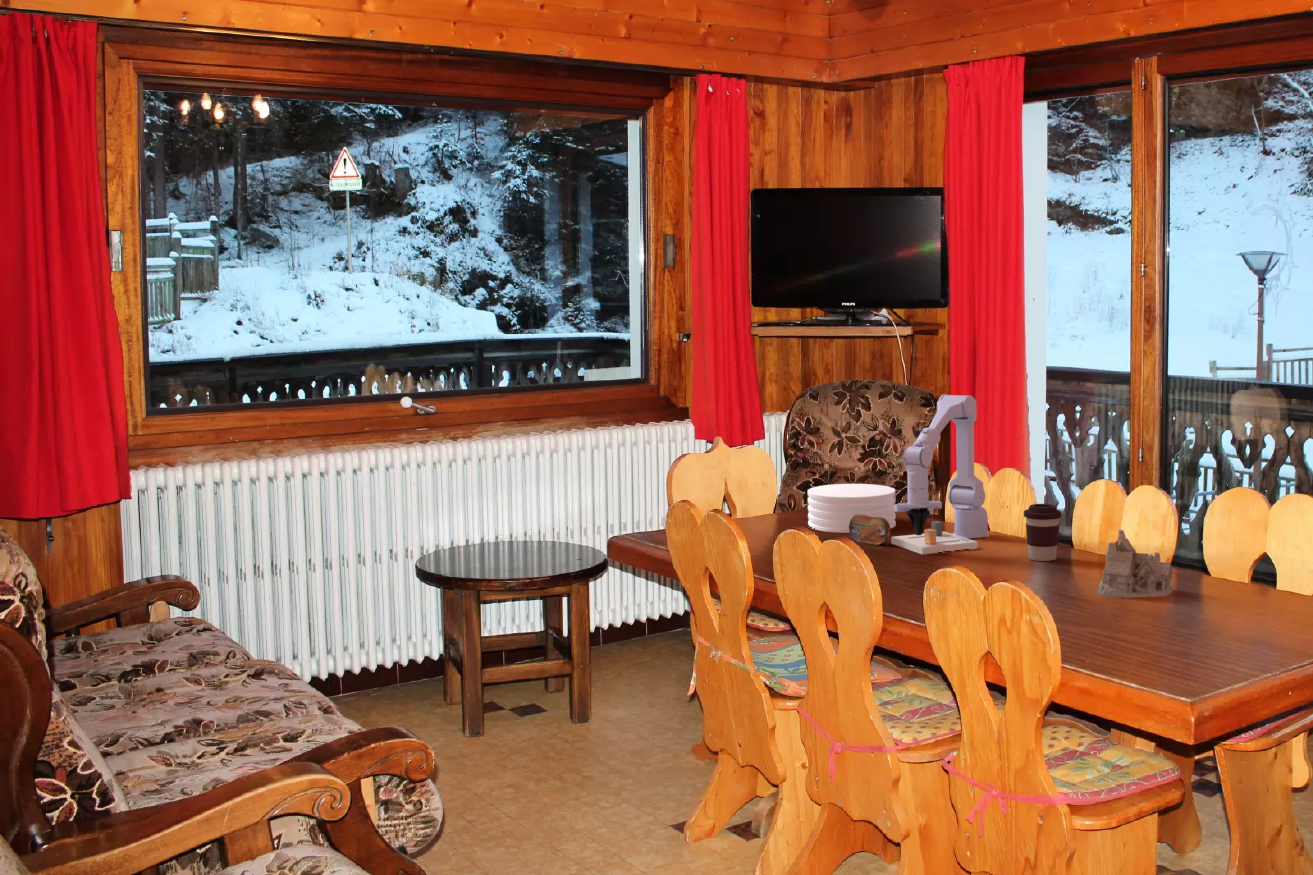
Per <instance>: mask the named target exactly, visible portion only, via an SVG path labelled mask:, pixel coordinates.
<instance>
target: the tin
mask: <svg viewBox="0 0 1313 875" xmlns="http://www.w3.org/2000/svg"><path fill="white" fill-rule="evenodd" d="M849 532H850V533H849V534H850V537H851V538H852V540H854V541H855V542H856V543H862V544H867V545H868V544H869V545H873V546H880V545H884V544H886V543H887V542H888V541H889V540H890V538H891V529H890V525H889V523H888V521H887V520H886V519H885V518H883V517H877V516H869V515H855V516H853V517H852V519H851V520H850V523H849Z"/></svg>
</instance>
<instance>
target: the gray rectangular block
mask: <svg viewBox="0 0 1313 875" xmlns="http://www.w3.org/2000/svg"><path fill="white" fill-rule="evenodd" d="M930 523H931V524H930V525H931V527H930V529H933V530H936V536H941V535H943V534H942V532H943V522H941V521H939V520H934V521H933V520H932V521H930Z"/></svg>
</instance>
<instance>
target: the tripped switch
mask: <svg viewBox="0 0 1313 875" xmlns="http://www.w3.org/2000/svg"><path fill="white" fill-rule="evenodd" d="M924 534H925V543H928V544H936V530H933V529H931V528H926V529H924Z"/></svg>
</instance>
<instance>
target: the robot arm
mask: <svg viewBox="0 0 1313 875" xmlns="http://www.w3.org/2000/svg"><path fill="white" fill-rule="evenodd" d="M936 409H937V411H936V413H935V415H934V416H933V419H932V421H931V423H930V424H929V426H928V427H924V428H923V429H922V431H921V432H920V433H919V435H918V437H917V438H916V439H915V441H914V443H913V444H912V445H910V446H908V447H907V448H905V450H904V452H903V455H902V459H903V460H902V461H903V463H904V467H905V468H904V469H905V472H906V473H907V502H903V503H897V504H896V503H894V504H895V505H894V512H895V513H901V512H906V515H907V516H908V519H909V521H910V523H911V526H912V530H913V535H922V534H923V533H924V532H923V531H924V527H925V524H926V522H927V520H928V518H929V516H930V515H931V512H930V510H931V509H942V508H943V502H942V501H939V500H929V477H928V476H929V472H928V471H929V466H930V465H931V463H932V460H933V456H934V450H935V449H936V447H937V445H939V443H940V441H941V435H940V434H941V432H942V431H943V430H944V428H945V427H946V426H947V424H949V423H950V421H952V422H953V423H954V424H955V427H956V428H955V429H956V430H955V431H956V434H955V435H956V436H955V437H956V476H955V477H954V478H953V479H952V480H950V481H949V488H948V492H947V499H948V502H949V503H950V505H951V507H952V508H954V510H953V512H954V517H953V518H954V521H953V522H954V524H953V525H954V532H952V533H951V534H954V535H957V536H960V537H963V538H966V539H970V540H972V539H977V538H978V539H980V538H988V537H990V534H989V533H988V532H989V531H988V530H989V529H988V528H989V526H988V524H989V523H988V521H989V520H988V519H989V517H988V512H987V509H986V508H985V507H983V505H984V503H985V500H986V492H985V488H984V482H983V481H982V480H981V479H980V478H978V477H977V476H976V475H975V422H976V421H977V401H976V399H975V397H973V396H972V395H954V394H953V395H952V394H951V395H950V394H945V393H944V394H942V395H940V396H939V398H938V401H937V402H936Z"/></svg>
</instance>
